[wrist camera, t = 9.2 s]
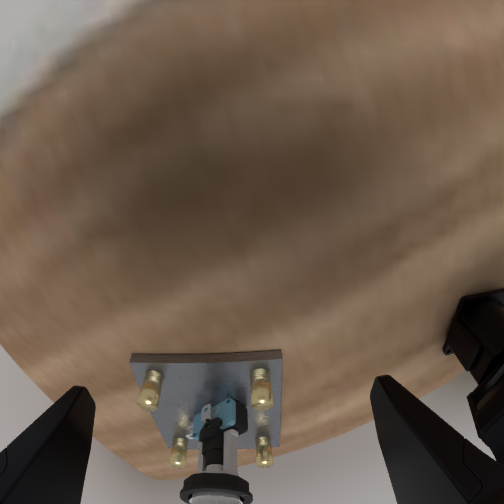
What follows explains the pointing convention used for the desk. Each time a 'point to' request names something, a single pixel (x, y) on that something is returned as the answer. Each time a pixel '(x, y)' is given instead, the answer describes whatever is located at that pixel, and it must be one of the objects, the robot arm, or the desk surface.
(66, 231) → the desk surface
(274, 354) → the chassis
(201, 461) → the push button
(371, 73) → the desk surface
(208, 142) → the desk surface
